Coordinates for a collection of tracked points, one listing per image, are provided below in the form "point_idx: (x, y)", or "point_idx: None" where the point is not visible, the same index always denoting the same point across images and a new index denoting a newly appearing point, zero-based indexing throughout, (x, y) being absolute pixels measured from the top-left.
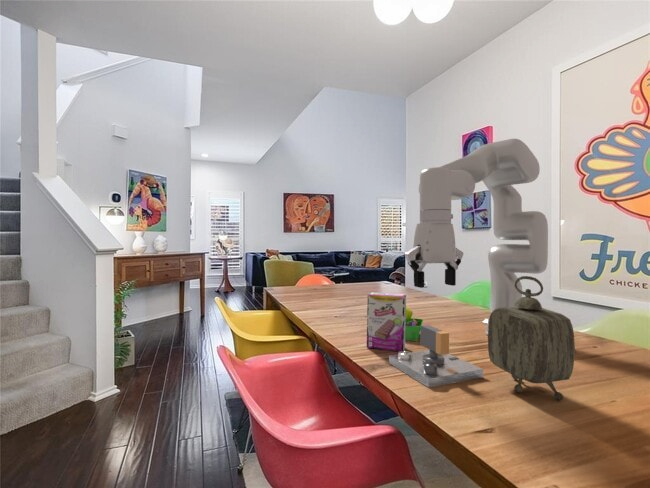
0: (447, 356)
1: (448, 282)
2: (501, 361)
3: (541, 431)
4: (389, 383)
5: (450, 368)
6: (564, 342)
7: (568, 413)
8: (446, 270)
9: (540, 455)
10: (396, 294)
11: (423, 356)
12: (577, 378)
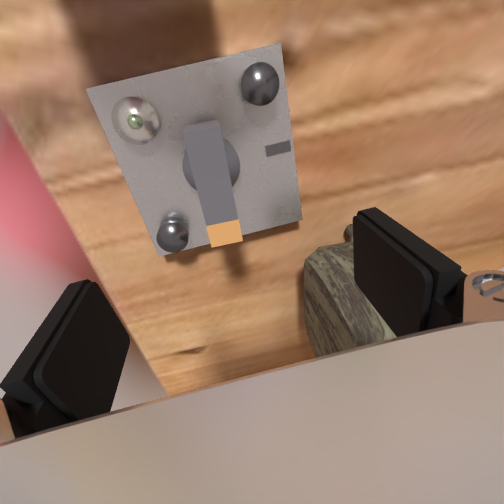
0: (271, 127)
1: (360, 253)
2: (308, 289)
3: (257, 351)
4: (79, 222)
5: None
6: None
7: None
8: (417, 290)
9: (223, 380)
10: None
11: (186, 154)
12: (456, 231)
